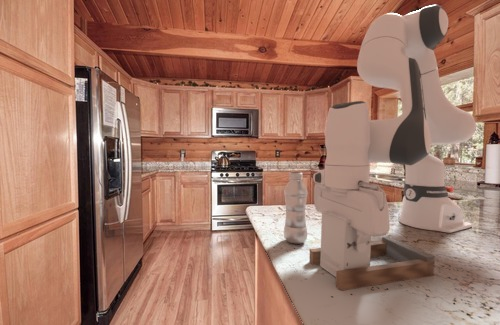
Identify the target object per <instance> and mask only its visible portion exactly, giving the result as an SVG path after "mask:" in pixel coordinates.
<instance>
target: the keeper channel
mask: <svg viewBox="0 0 500 325" xmlns="http://www.w3.org/2000/svg"><path fill="white" fill-rule="evenodd" d="M381 256H387V257H390V258H391V259H393V260H395V261H396V262H391V263H384V264H377V265H370V266H368V267H361V268H354V269H347V270H340V271H336V277H335V287H336V288H337V289H338V290H340V291H345V290H346V291H347V290H352V289H358V288H365V287H372V286H376V285H382V284H388V283H394V282H395V283H396V282H400V281H406V280H412V279H419V278H424V277H431V276H435V263H436V260H435V259H436V256H434V255H432V254H430V253H427V252H425V251H423V250H420V249H418V248H416V247H413V246H411V245H409V244H407V243H404V242H402V241H399V240H397V239H395V238H393V237H390V236H381V240H379V241H371V251H370V258H374V257H381ZM320 258H321V247H318V248H309V264H311V265H312V266H313V265H320Z"/></svg>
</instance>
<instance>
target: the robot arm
mask: <svg viewBox="0 0 500 325" xmlns="http://www.w3.org/2000/svg"><path fill="white" fill-rule="evenodd" d="M448 28H449V17H448V14H447V12H446V11H445V9H444V7H443V6H441V5H439V4H432V5H427V6H424V7H422V8H421V9H419V10H416V11H412V12H409V13H407V14H405V15H400V14H398V13H396V12H395V13H394V12H388V13H384V14H382V15H380V16H378V17H376V18H375V19H374V20H373V21H372V22H371V24H370V25H369V27H368V29H367V30H366V32H365V34H364V37H363V39H362V42H361V45H360V49H359V53H358V56H357V57H358V58H357V63H356V68H357V73H358V76H359V78H361V79H362V81H363V82H365V83H366V84H367V85H370V86H372V87H375V88H380V89H381V88H382V89H390V90H393V91H397V92H399V96H400V100H401V110H402V113H401V114H400V115H398V116H396V117H393V118H385V119H384V118H383V119H370V111H369V106H368V103H367V102H366V101H364V100H363V101H362V100H357V101H350V102H344V103H336V104H334V105H332V106H331V107H329V110H328V112H327V116H326V117H327V118H326V123H325V136H324V138H325V139H324V144H325V150H326V157H325V160H324V161H325V162H324V168H323V169H321V170H320V171H317V172H315V173H314V174H313V175H312V176H313V177H312V178H313V182H314V183H315V184H314V188H313V202H314V203H313V204H314V207H315V210H316V211H317V212H319V213H321V214H322V212H327V211H331V212H334V213H336V214H339V215H341V216H343V217H346V218H348V219H350V226H351V227H352V228H354V229H357V235H359V237H358V239H357V241H354V243H353V244H354V246H353V248H354V249H355V250H356V251H358V252H365V251H366V243H367V242H368V240H369V239H370V237H371V238H372V237H384V236H386V235H387V234H388V233H389V232H390V212H389V206H388V201H387V194H386V192H385V190H384V189H383V188H382V187H381V186H380V184H377V183H371V182H370V171H371V169H370V168H371V167H370V166H371V165H370V163H385V164H387V163H389V164H390V163H391V164H395V165H403V166H405V183H403V194H404V196H402V202H401V203H402V204H401V209H400V210H401V211H400V213H399V214H398V218H399V219H398V222H399V223H401V224H403V225H406V226H409V227H412V228H416V229H421V230H426V231H427V230H429V231H436V232H437V231H438V232H443V233H449V234H451V233H454V232H458V231H459V232H460V231H462V230H465V229H470V228H472V227H473V223H470V222H468V221H466V220H464V212H463V209H462V207H461V206H459V205H458V204H457V203H455V202H454V201H453V200H452V199H451V198H449V194H448V193H451V194H452V193H453V192H454V191H455V189H454V187H453V186H448V185H447V186H446V185H445V177H446V176H445V174H446V171H445V170H446V166H445V165H446V164H445V163H444V162H443V160H442V159H440V158H439V157H437V156H434V155H432V154H431V153H430V151H431V148H432V146H448V145H456V144H461V143H466V142H468V141H469V140H470V139H471V138H472V137H473V135H474V134H475V133H476V130H477V122H476V119H475V118H474V116H473V115H472V114H471V113H470V112H468V111H466V110H463V109H461V108H459V107H457V106H456V105H454V104H453V103H452V102H451V101H450V100H449V98H447V97H446V95H445V93H444V91H443V87H442V84H441V79H440V74H439V68H438V62H437V61H438V60H437V58H436V55H435V51H434V50H435V49H436V48H437V46H438V45H439V44H441V43H442V41H444V39H445V37H446V36H447V33H448Z"/></svg>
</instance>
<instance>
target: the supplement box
mask: <svg viewBox="0 0 500 325" xmlns="http://www.w3.org/2000/svg"><path fill="white" fill-rule="evenodd" d="M320 228H321V232H320V234H321V236H320V248H321V258H320V264H319V266H320V268H322V269H324V270H325V271H327V272H328V273H329V274H331V275H332V276H334V277H335V278H336V271H340V270H347V269H354V268H361V267H368V266H371V257H370V251H371V242H372V236H371V237H370V239H369V240H368V242H367V243H366V251H365V252H358V251H356V250H355V249H354V248H353V246H354V244H353V243H354V241H357V239H358V237H359V235H357V229H354V228H352V227H351V226H350V219H348V218H346V217H343V216H341V215H339V214H336V213H334V212H331V211H327V212H322V213H321V227H320Z"/></svg>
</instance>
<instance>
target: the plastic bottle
mask: <svg viewBox="0 0 500 325" xmlns="http://www.w3.org/2000/svg"><path fill="white" fill-rule="evenodd" d="M288 174H289V176H288V179H289V181H288V182H287V184H285V187H284V190H283V194H284V195H283V196H284V204H285V222H284V228H283V237H284V239H285V241H286V242H288V243H290V244H294V245H296V244H298V245H299V244H304V243H305V242H306V241H307V239H308V228H307V222H306V204H307V197H308V189H307V187H306V185H305V183H304V182H303V180H304V177H303V172H302V171H289V172H288Z"/></svg>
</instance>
